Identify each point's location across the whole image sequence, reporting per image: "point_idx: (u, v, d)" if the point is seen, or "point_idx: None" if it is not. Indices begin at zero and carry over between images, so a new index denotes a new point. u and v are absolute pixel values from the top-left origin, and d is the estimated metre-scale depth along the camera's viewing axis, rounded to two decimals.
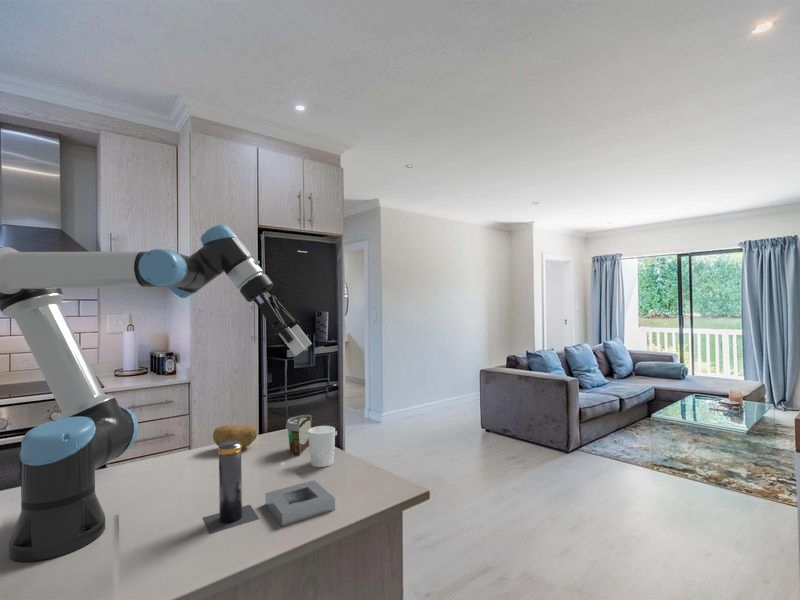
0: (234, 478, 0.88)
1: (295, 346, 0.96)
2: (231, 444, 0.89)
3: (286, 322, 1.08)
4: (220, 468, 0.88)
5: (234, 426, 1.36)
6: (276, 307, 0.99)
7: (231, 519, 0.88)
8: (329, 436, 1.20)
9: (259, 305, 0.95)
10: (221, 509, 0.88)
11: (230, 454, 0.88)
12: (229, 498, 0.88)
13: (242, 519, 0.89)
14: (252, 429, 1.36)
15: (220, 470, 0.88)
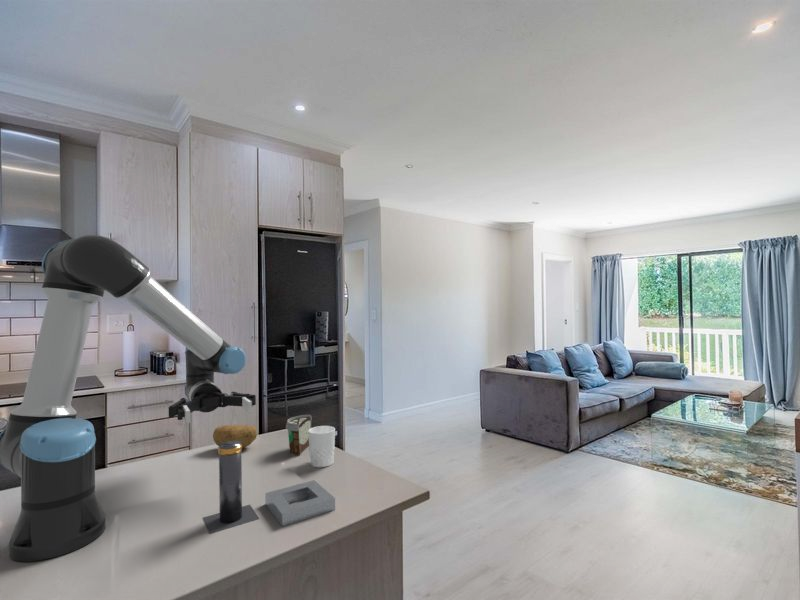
0: (234, 478, 0.88)
1: None
2: (231, 444, 0.89)
3: (188, 407, 1.01)
4: (220, 468, 0.88)
5: (234, 426, 1.36)
6: (226, 405, 1.10)
7: (231, 519, 0.88)
8: (329, 436, 1.20)
9: None
10: (221, 509, 0.88)
11: (230, 454, 0.88)
12: (230, 498, 0.88)
13: (242, 519, 0.89)
14: (252, 429, 1.36)
15: (220, 470, 0.88)
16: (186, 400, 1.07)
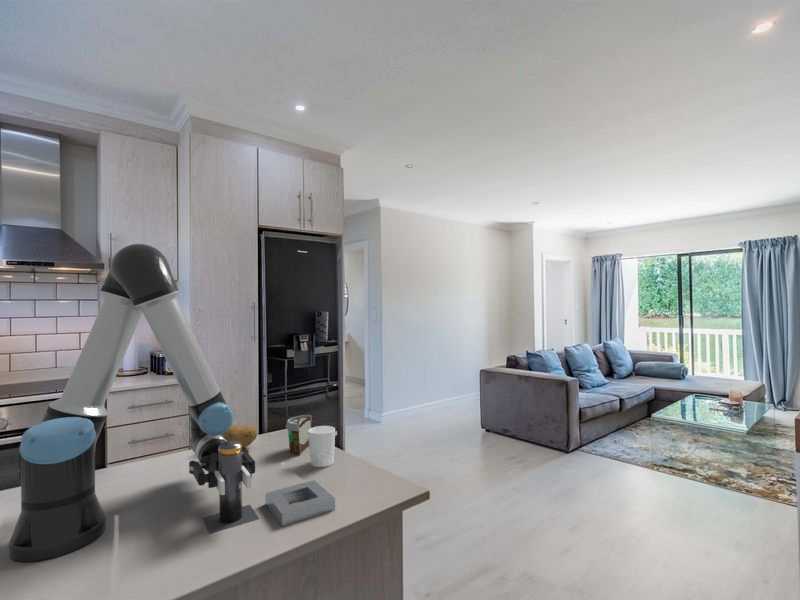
0: (234, 478, 0.88)
1: None
2: (231, 444, 0.89)
3: None
4: (220, 468, 0.88)
5: (234, 426, 1.36)
6: None
7: (231, 519, 0.88)
8: (329, 436, 1.20)
9: (247, 454, 1.01)
10: (221, 509, 0.88)
11: (230, 455, 0.88)
12: (229, 498, 0.87)
13: (242, 519, 0.89)
14: (252, 429, 1.36)
15: (220, 470, 0.88)
16: (198, 463, 0.95)
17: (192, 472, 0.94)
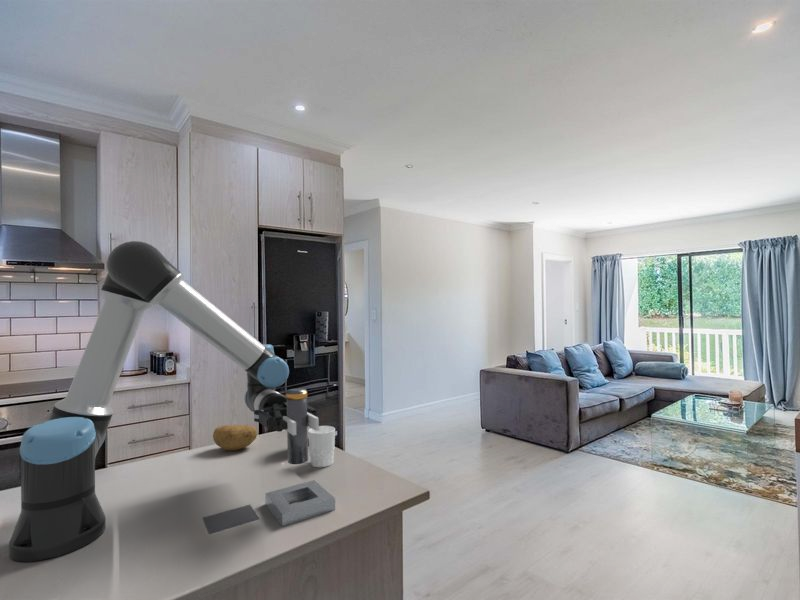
0: (302, 422, 0.93)
1: None
2: (298, 390, 0.94)
3: None
4: (288, 412, 0.93)
5: (234, 426, 1.36)
6: None
7: (300, 460, 0.92)
8: (329, 436, 1.20)
9: None
10: (290, 451, 0.92)
11: (298, 399, 0.92)
12: (298, 440, 0.92)
13: (242, 519, 0.89)
14: (252, 429, 1.36)
15: (288, 414, 0.93)
16: None
17: (257, 420, 0.99)
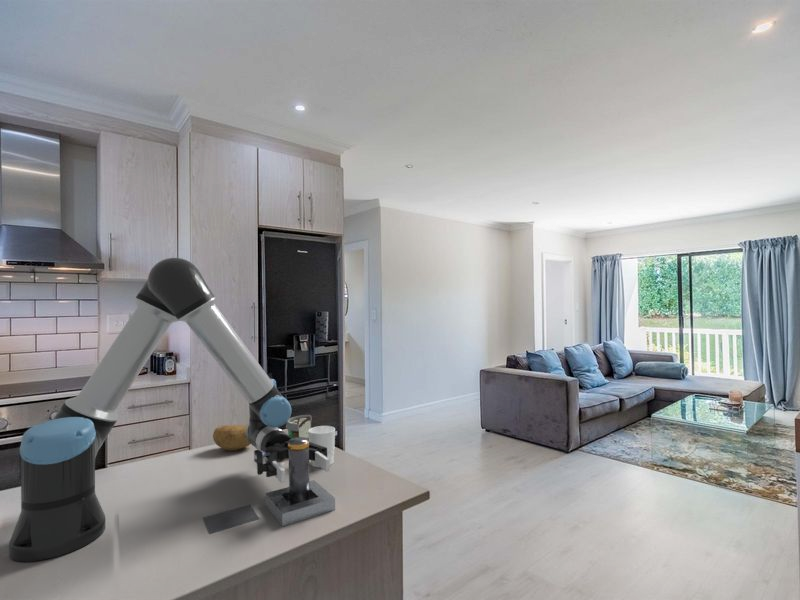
0: (304, 472, 0.93)
1: None
2: (300, 440, 0.94)
3: None
4: (290, 463, 0.93)
5: (234, 426, 1.36)
6: None
7: None
8: (329, 436, 1.20)
9: None
10: (292, 502, 0.92)
11: (300, 450, 0.93)
12: (300, 491, 0.92)
13: (242, 519, 0.89)
14: None
15: (290, 465, 0.93)
16: (262, 452, 1.00)
17: (256, 461, 0.99)
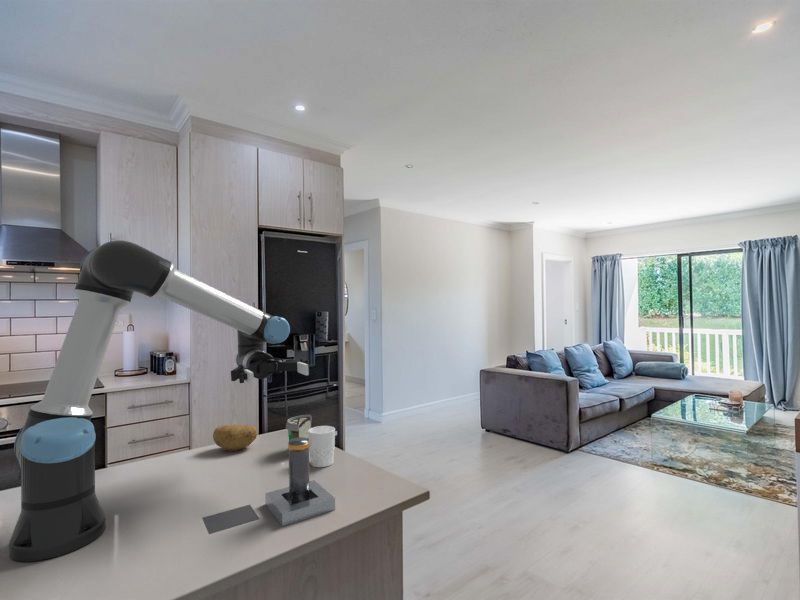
0: (304, 473, 0.93)
1: None
2: (300, 440, 0.94)
3: None
4: (290, 463, 0.93)
5: (234, 426, 1.36)
6: (281, 371, 1.14)
7: None
8: (329, 436, 1.20)
9: None
10: (292, 502, 0.92)
11: (300, 450, 0.92)
12: (300, 492, 0.92)
13: (242, 519, 0.89)
14: (252, 429, 1.36)
15: (290, 465, 0.93)
16: (244, 366, 1.11)
17: None
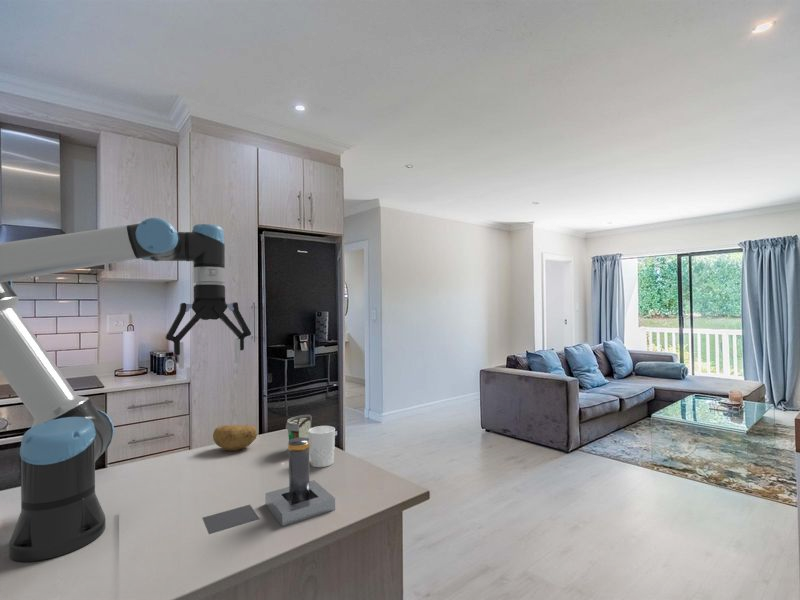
0: (304, 473, 0.93)
1: (179, 360, 1.04)
2: (300, 441, 0.94)
3: (233, 331, 1.12)
4: (291, 463, 0.93)
5: (234, 426, 1.36)
6: (195, 319, 1.05)
7: None
8: (329, 436, 1.20)
9: (179, 311, 1.05)
10: (292, 502, 0.92)
11: (300, 450, 0.92)
12: (300, 492, 0.92)
13: (242, 519, 0.89)
14: (252, 429, 1.36)
15: (291, 465, 0.93)
16: None
17: None
